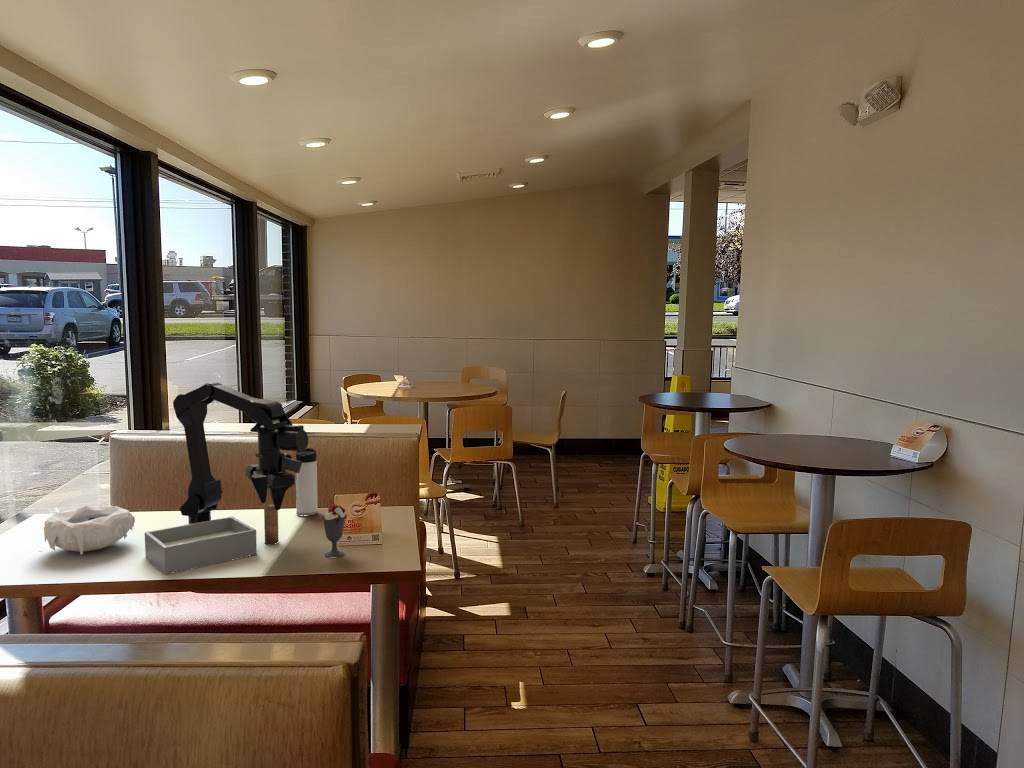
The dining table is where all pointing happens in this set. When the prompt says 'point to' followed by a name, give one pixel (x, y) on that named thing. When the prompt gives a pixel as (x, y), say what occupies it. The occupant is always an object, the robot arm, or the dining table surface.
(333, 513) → the sundae
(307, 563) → the dining table surface
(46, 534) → the bowl
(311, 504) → the travel mug
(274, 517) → the peg
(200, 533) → the box
